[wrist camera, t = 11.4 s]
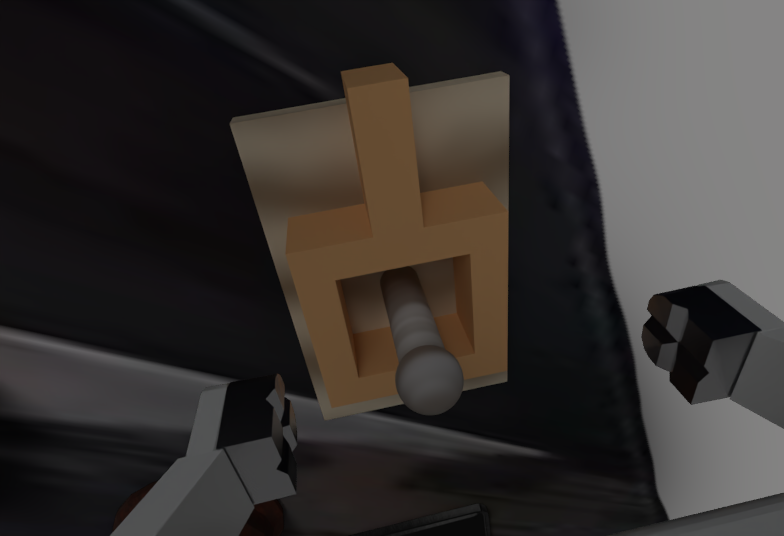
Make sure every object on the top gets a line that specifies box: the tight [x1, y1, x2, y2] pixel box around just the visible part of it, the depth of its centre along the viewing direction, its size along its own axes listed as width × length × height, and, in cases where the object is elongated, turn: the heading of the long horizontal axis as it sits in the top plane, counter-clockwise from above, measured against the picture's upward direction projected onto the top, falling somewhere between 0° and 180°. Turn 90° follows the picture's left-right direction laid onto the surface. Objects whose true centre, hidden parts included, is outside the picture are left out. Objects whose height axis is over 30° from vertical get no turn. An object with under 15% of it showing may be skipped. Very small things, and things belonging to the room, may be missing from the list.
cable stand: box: [230, 71, 509, 420], centre depth 25 cm, size 22×14×11 cm, turn 7°
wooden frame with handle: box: [285, 63, 508, 408], centre depth 25 cm, size 18×11×4 cm, turn 7°
